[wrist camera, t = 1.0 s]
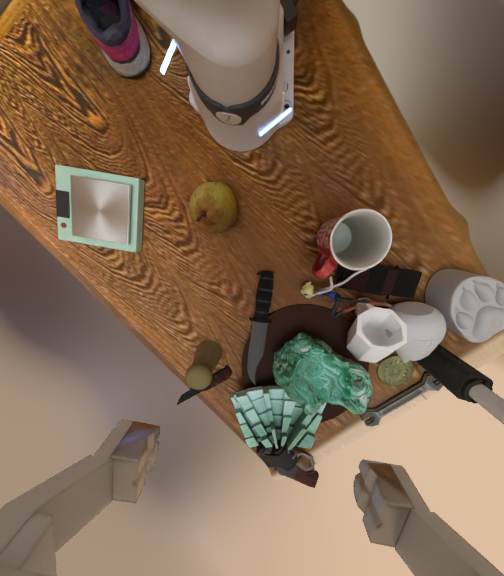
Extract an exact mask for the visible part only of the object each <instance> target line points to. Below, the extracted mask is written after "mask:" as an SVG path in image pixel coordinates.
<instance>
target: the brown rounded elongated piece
mask: <svg viewBox="0 0 504 576" xmlns="http://www.w3.org/2000/svg"><path fill="white" fill-rule="evenodd" d="M221 356H222V350H221V347H220V346H219V345H218V344H217V343H216V342H214V341H210V340H207V341H203V342H201V343H200V344H199V345H198V347H197V350H196V353H195V357H194V361H193V364H192V365H191V366H190V367H189V368H188V370H187V372H186V378H185V379H186V382H187V384H188V385H189V386H190V387H191V388H193V389H195V390H202V389H204V388H206V387H207V386H208V385H209V384H210V383H211V381H212V372H213V370H214V368H215V367H216V365H217V363H218V361H219V360H220V358H221Z"/></svg>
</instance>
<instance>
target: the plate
mask: <svg viewBox="0 0 504 576" xmlns="http://www.w3.org/2000/svg"><path fill="white" fill-rule="evenodd" d="M331 312H332V310H330V309H328V308H325V307H322V306H317V305H311V304H308V305H295V306H290V307H286V308H283V309H281V310H279V311H277V312H275V313H273V314H271V315H270V316H269V317H267V319H268V320H271V321H272V323H271V322H270V323H268V326H267V333H266V340H265V346H264V353H263V357H262V358H261V360H260V362H259V364H258V366H257V369H256V372H255V383H256V386H255V384H254V383H253V382H252V381H251V379H250V378H249V375H248V371H247V362H248V352H249V345H250V338H251V336H250V338H249V339H248V341H247V344H246V347H245V349H244V353H243V359H242V375H243V379H244V383H245V386H246V388H247V389H248V388H253V387H260V386H267V385H269V386H277V385H278V384H277V383H276V382H275V377H274V373H273V362H274V353H275V352H276V351H278V350H279V349H280V348H283V346H284V344H285V343H286V342H288V341H291V340H292V339H294V337H296V336H297V335H298V334H299V333H306V334H307V335H309V336H311V338H312V339H319V340H322V341H324V342H325V343H326V344H327V345H329V346H330V347H331V349H332V350H333V351H334V352H335V353H336V354H338V355H341V356H343V357H345V358H349V359H351V360H352V361H353V362H355V363H358V364H360V365H361V366H362V367H363V368H364V369H365V370H366V371H367V372H368V368H369V362H365V361H360V360H358V359H357V358H356V357H355V356H354V355H353V354H352V353H351V352H350V351H349V350H348V349H347V348H346V346H347V336H348V331H349V329H350V328H351V326H352V324H351V323H350V322H349V321H348V320H347V319H346V318H345V317H343V316H341V315H340V316H338V317H336V318H334V317H333V316H332V315H331ZM336 314H337V312H335V313H334V314H333V315H334V316H335V315H336ZM346 410H347V409H346V408H345V407H344V406H341V405H336V404H334V405H331V404H330V403H328V402H327V404H326V406H325V408H324V410H323V412H322V414H321V415H322V419H321V421H320V422H324V421H327V420H330V419H332V418H335V417H336V416H338V415H340V414H341V413H343V412H345V411H346Z"/></svg>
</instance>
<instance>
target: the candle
mask: <svg viewBox="0 0 504 576" xmlns="http://www.w3.org/2000/svg"><path fill="white" fill-rule="evenodd" d="M416 362H417V363H419V364H420V365H421V366H422V367H423V368H424V369H425V370H427V371H428V372H429V373H430V374H431V375H432V376H433V377H435V378H436V379H437V380H438V381H439V382H440V383H441V384H442V385H444V386H445V387H446V388H447V389H448V390H449V391H450V392H452V393H453V394H454V395H455V396H456V397H457V398H459V399H462V400H466V401H468V402H473V403H478V404H480V405H481V406H482V407H483V408H485V409H486V410H487V411H488V412H489V413H491V414H492V415H493V416H494V417H496V418H497V419H498V420H499V421H500V422H501V423H503V424H504V399H502V398H501V397H499V396H498V395H497V394H495V393H494V392H492V386H493V382H492V380H491V379H489V378H488V377H486V376H485V375H483V374H482V373H480V372H479V371H478V370H476V369H475V368H473V367H472V366H470V365H469V364H467V363H466V362H464V361H463V360H461V359H460V358H458V357H457V356H455V355H454V354H452V353H451V352H449V351H448V350H446V349H445V348H443V347H442V346H440V345H439V344H438V345H437V347H436V348H435V349H434V350H433V351H432V352H431V353H430V354H429V355H428V356H426V357H425V358H423V359H421V360H417V361H416Z"/></svg>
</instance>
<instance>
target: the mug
mask: <svg viewBox="0 0 504 576" xmlns="http://www.w3.org/2000/svg"><path fill="white" fill-rule="evenodd" d="M316 242H317V245H318V247H319V249H320V251H319V253H318V255H317V257H316V259H315V262H314V264H313V268H312V272H313V274H314V275H315V276H316V277H318V278H320V279H324V278H326V277H327V276H329V275H330V274H331V273H332V272H333V270H334V269H335V268H336V266H337V265H338V264H340V265H341V266H343V267H345V268H347V269H350V270H356V271H359V270H366V269H369V268H372V267H374V266H375V265H377V264H378V263H380V262H381V261H382V260H383V259H384V258H385V256H386V255H387V253H388V251H389V249H390V247H391V243H392V231H391V227H390V225H389V223H388V221H387V219H386V218H385V217H384V216H383V215H381V214H380V213H379V212H377V211H374V210H371V209H356V210H353V211H350V212H348V213H346V214H345V215H343V216H340V217H337V218H334V219H330V220H328V221H326V222H325V223H324V224H322V225H321V227H320V228H319V230H318V232H317V236H316ZM327 257H328V259H327V261H326V262H325V260H326V258H327ZM324 262H325V264H324ZM323 264H324V265H323Z"/></svg>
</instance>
